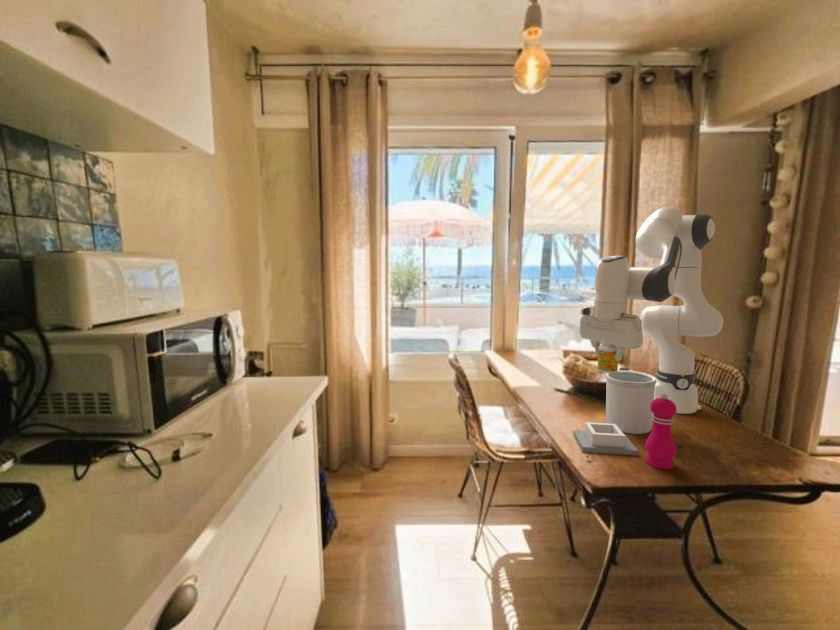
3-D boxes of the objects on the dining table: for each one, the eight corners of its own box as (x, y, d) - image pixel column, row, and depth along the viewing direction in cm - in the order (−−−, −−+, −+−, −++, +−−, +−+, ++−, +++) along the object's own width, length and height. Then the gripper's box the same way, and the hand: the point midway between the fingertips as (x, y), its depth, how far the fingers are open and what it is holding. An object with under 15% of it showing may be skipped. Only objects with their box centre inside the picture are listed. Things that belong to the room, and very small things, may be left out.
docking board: (573, 434, 125) (574, 419, 125) (623, 437, 123) (624, 422, 122) (582, 451, 114) (582, 435, 113) (637, 455, 111) (638, 438, 111)
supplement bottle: (594, 371, 116) (595, 339, 114) (601, 367, 119) (602, 336, 118) (613, 374, 112) (615, 341, 111) (620, 371, 116) (621, 338, 114)
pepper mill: (663, 457, 110) (668, 388, 108) (681, 470, 103) (687, 397, 101) (638, 457, 110) (642, 389, 108) (654, 470, 103) (659, 397, 100)
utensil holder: (626, 437, 123) (629, 384, 121) (594, 420, 137) (596, 371, 135) (664, 432, 127) (667, 379, 125) (628, 415, 141) (631, 368, 139)
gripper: (650, 315, 105) (647, 365, 106) (592, 308, 124) (590, 350, 126) (632, 316, 103) (629, 367, 104) (576, 308, 122) (575, 352, 123)
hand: (608, 358), depth 115 cm, fingers closed on supplement bottle, 5 cm apart
